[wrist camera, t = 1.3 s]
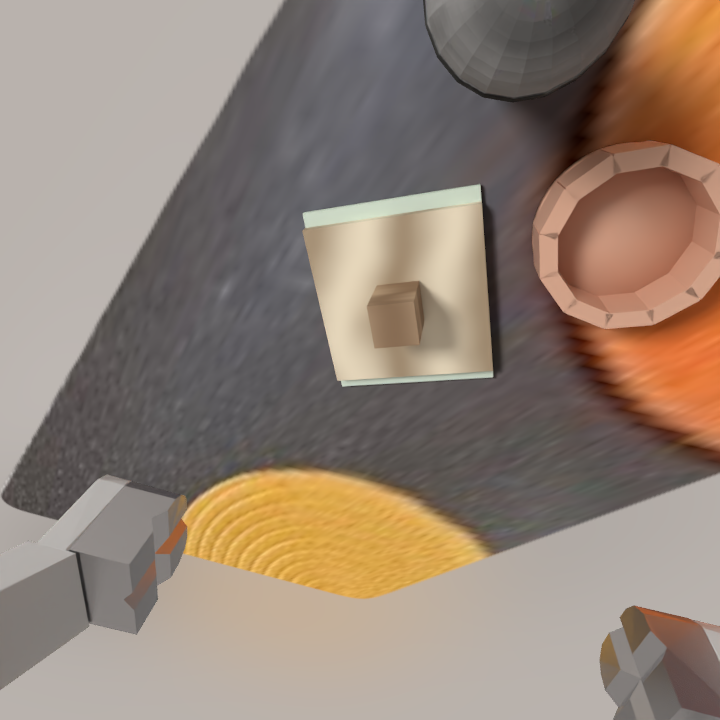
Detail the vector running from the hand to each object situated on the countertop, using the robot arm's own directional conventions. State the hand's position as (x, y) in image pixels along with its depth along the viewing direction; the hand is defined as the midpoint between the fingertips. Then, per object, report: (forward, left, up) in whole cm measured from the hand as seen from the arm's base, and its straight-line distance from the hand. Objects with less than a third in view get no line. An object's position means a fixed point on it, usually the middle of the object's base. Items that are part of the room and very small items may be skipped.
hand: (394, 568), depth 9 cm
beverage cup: (-4, -11, -27) cm, 29 cm away
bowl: (-10, +1, -27) cm, 29 cm away
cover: (+4, +4, -27) cm, 27 cm away
